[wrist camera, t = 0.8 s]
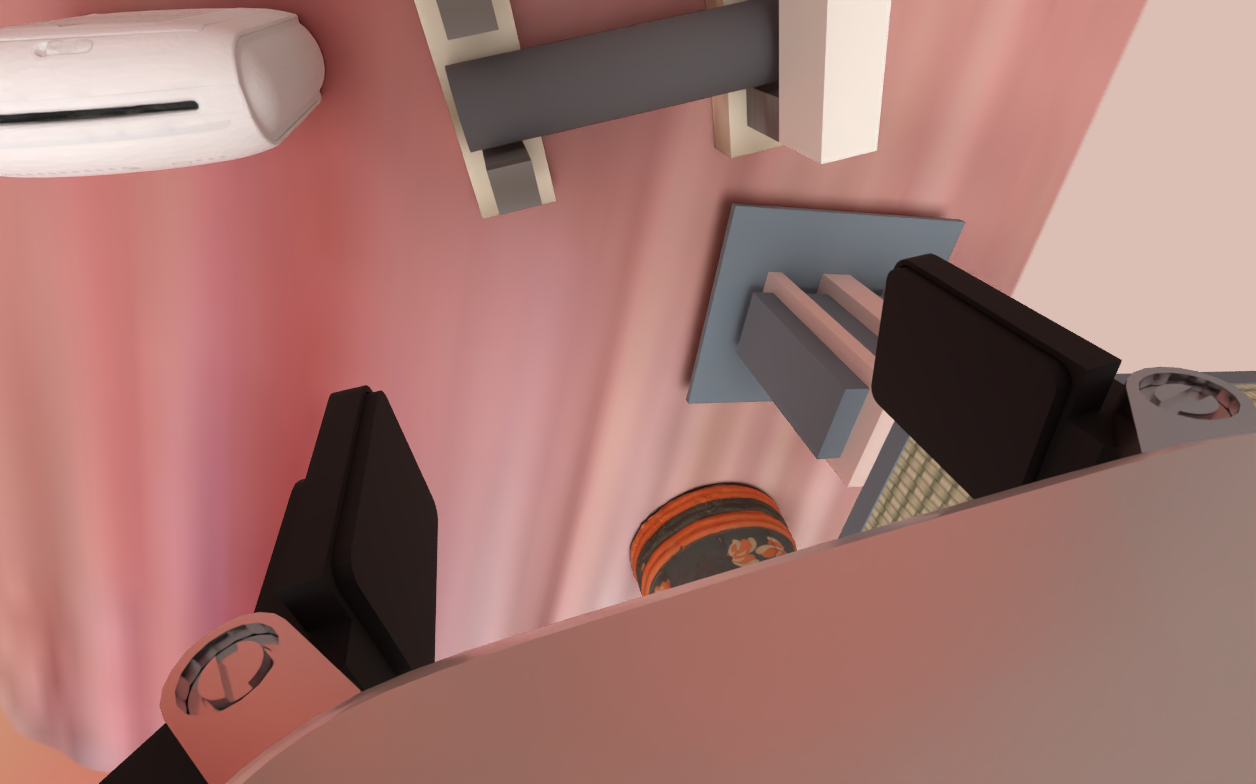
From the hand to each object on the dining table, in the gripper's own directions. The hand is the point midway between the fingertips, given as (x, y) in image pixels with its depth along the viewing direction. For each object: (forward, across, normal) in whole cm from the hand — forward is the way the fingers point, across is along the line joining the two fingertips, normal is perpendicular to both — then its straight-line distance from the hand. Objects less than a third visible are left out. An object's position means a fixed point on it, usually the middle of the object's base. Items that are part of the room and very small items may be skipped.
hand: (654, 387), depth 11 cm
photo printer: (+26, +14, -5) cm, 30 cm away
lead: (+23, -6, -2) cm, 24 cm away
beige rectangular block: (+19, -13, -3) cm, 23 cm away
